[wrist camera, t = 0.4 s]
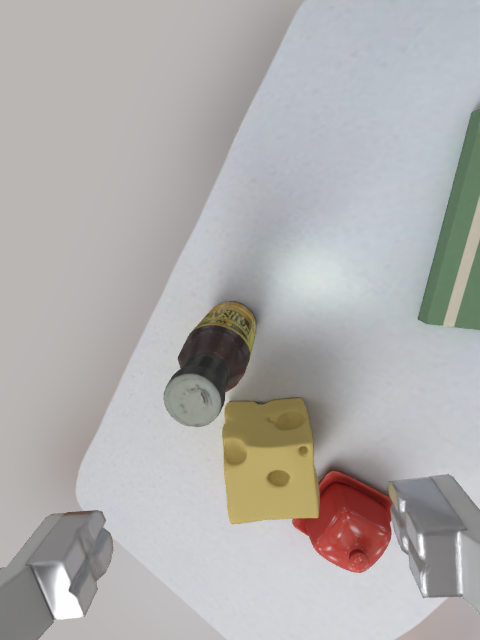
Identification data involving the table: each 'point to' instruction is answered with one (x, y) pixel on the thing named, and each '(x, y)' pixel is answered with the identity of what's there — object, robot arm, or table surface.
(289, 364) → the table surface
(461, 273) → the towel
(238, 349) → the sauce bottle
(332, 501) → the butter dish
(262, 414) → the cheese
